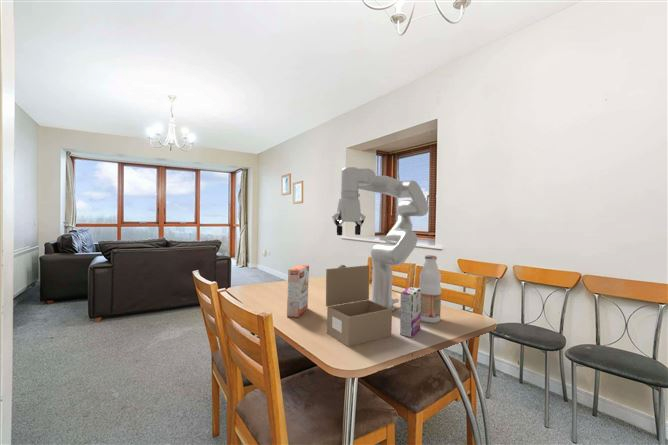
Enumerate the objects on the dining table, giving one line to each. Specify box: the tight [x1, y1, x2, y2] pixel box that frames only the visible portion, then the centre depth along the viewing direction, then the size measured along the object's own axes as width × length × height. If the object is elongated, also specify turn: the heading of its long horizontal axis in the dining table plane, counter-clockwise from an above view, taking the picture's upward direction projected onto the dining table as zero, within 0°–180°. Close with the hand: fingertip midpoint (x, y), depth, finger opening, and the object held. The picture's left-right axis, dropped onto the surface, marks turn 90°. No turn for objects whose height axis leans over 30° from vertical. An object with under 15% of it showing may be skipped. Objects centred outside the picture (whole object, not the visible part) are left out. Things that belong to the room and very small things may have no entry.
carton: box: [326, 299, 393, 348], centre depth 115 cm, size 20×14×10 cm
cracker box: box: [286, 264, 310, 318], centre depth 138 cm, size 14×6×21 cm, turn 168°
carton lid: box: [325, 264, 370, 307], centre depth 123 cm, size 20×14×7 cm
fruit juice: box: [418, 254, 442, 324], centre depth 133 cm, size 9×9×28 cm
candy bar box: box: [399, 286, 422, 338], centre depth 118 cm, size 11×5×16 cm, turn 148°
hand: (348, 235), depth 133 cm, fingers open, 9 cm apart
